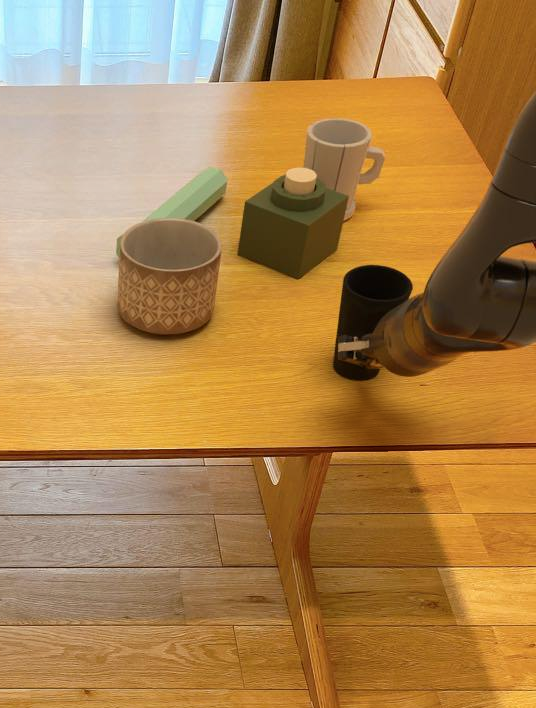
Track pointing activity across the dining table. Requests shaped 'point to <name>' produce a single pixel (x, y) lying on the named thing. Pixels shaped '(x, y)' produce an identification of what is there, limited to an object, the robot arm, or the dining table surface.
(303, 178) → the cream push button
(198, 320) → the planter
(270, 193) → the green push button box
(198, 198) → the pale green long bar
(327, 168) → the cup
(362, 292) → the cup
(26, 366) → the dining table surface
